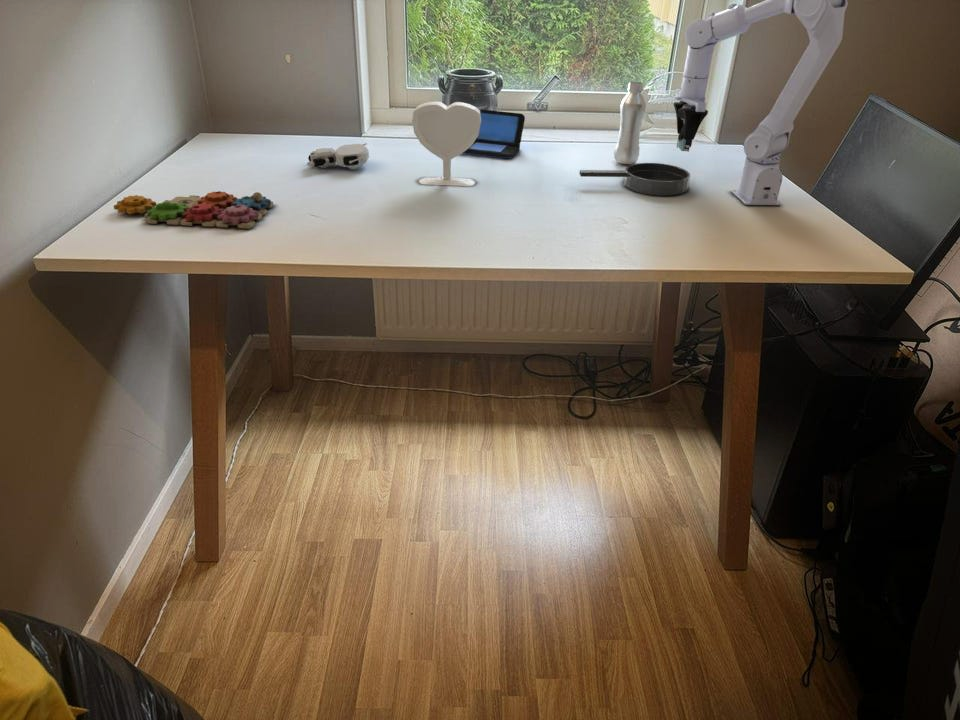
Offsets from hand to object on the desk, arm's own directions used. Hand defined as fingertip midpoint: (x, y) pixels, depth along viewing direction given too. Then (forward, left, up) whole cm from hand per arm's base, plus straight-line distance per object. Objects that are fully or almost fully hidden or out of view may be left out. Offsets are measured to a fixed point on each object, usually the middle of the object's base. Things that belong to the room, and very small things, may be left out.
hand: (685, 136), depth 167 cm
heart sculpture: (-5, +58, -10) cm, 59 cm away
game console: (+23, +46, -10) cm, 52 cm away
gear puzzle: (-27, +111, -10) cm, 114 cm away
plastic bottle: (+12, +11, -10) cm, 19 cm away
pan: (-7, +8, -10) cm, 14 cm away
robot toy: (+7, +85, -10) cm, 85 cm away
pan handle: (-7, +21, -8) cm, 23 cm away
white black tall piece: (0, 0, -3) cm, 3 cm away
